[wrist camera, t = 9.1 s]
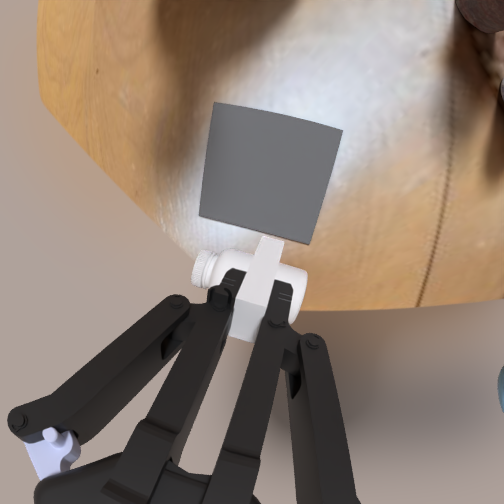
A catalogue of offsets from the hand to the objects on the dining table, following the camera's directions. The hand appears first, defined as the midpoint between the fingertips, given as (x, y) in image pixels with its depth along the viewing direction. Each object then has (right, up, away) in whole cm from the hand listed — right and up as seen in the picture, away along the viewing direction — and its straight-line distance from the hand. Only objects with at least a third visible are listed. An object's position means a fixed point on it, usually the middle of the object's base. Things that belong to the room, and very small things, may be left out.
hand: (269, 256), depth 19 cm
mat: (0, +10, +16) cm, 19 cm away
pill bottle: (+6, -6, +20) cm, 21 cm away
